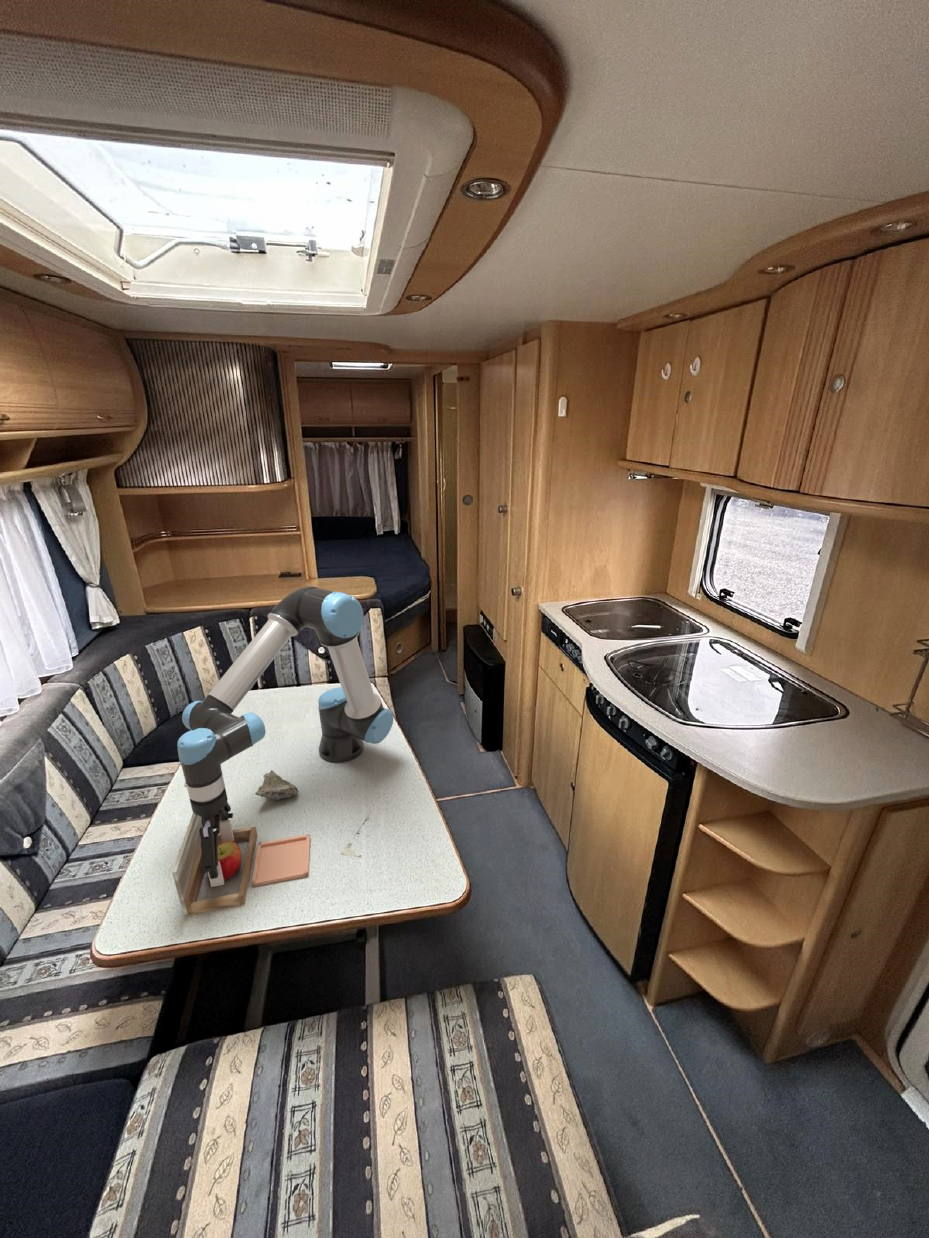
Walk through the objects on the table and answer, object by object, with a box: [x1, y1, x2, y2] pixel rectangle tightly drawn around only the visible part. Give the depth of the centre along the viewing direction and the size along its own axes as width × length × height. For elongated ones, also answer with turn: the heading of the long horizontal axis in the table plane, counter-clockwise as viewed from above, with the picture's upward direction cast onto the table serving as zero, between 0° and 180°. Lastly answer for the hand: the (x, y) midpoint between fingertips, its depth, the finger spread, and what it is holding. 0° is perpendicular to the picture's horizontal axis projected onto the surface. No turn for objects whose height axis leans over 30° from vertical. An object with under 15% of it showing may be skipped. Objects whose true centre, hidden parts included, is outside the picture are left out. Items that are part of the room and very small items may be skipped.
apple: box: [206, 841, 243, 881], centre depth 124 cm, size 8×8×10 cm
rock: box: [255, 769, 299, 801], centre depth 150 cm, size 11×6×10 cm
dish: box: [251, 833, 311, 888], centre depth 129 cm, size 13×13×2 cm
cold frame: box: [171, 812, 258, 916], centre depth 124 cm, size 13×23×14 cm, turn 14°
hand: (223, 861), depth 125 cm, fingers open, 13 cm apart
